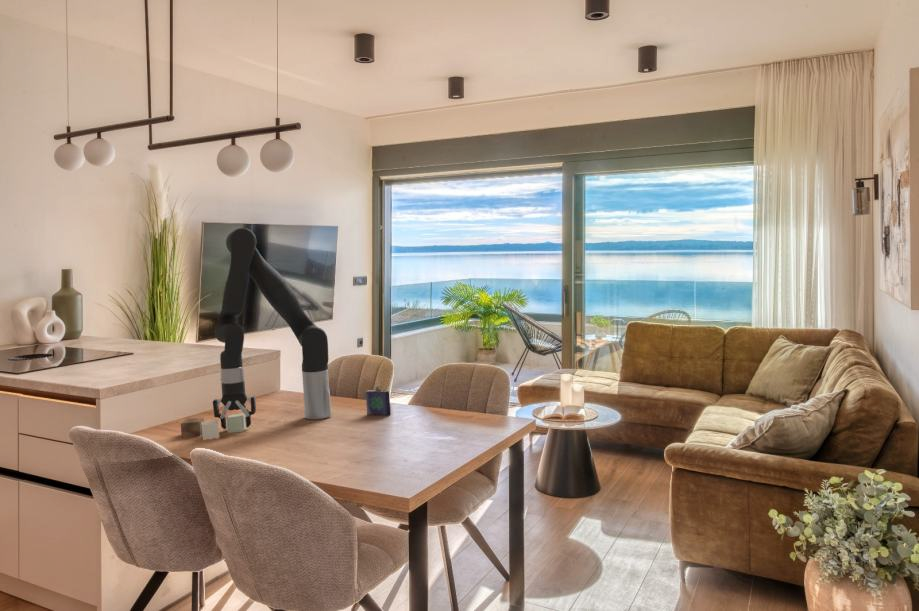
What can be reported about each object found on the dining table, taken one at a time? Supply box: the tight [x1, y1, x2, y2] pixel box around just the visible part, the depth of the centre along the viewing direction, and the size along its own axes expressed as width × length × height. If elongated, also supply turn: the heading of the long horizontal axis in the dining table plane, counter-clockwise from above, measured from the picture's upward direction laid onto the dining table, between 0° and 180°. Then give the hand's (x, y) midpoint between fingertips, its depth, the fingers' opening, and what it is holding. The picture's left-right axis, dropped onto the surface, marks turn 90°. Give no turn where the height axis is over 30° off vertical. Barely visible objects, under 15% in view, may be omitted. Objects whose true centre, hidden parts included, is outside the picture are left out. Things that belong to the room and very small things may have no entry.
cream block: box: [201, 419, 220, 441], centre depth 219 cm, size 5×5×5 cm
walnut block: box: [180, 417, 205, 438], centre depth 224 cm, size 6×6×5 cm
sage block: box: [226, 413, 246, 433], centre depth 227 cm, size 5×5×5 cm
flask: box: [365, 385, 392, 417], centre depth 239 cm, size 9×3×11 cm, turn 71°
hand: (236, 427), depth 227 cm, fingers open, 7 cm apart
